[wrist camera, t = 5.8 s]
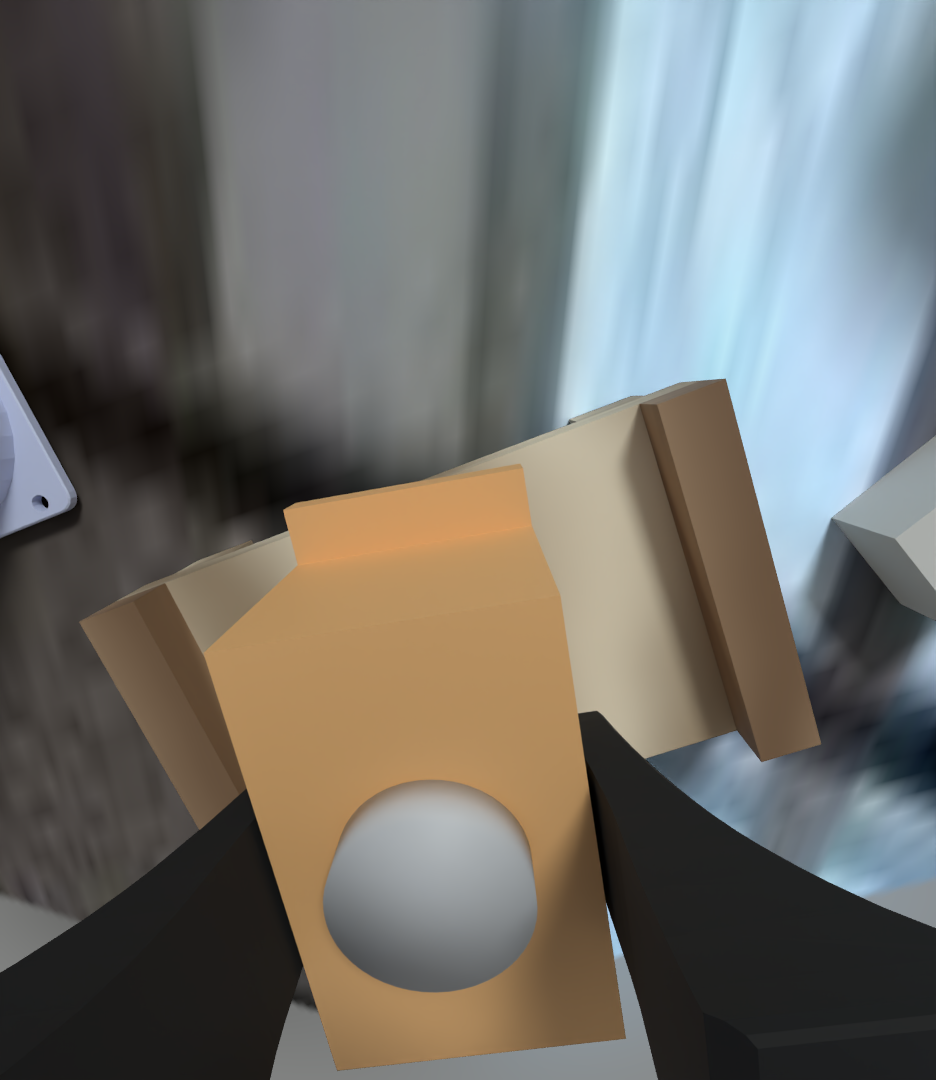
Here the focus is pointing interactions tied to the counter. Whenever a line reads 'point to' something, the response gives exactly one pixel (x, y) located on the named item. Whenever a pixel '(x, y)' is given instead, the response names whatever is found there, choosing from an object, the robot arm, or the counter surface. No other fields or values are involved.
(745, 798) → the counter surface
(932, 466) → the rubber block
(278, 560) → the stand
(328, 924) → the housing
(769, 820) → the counter surface
